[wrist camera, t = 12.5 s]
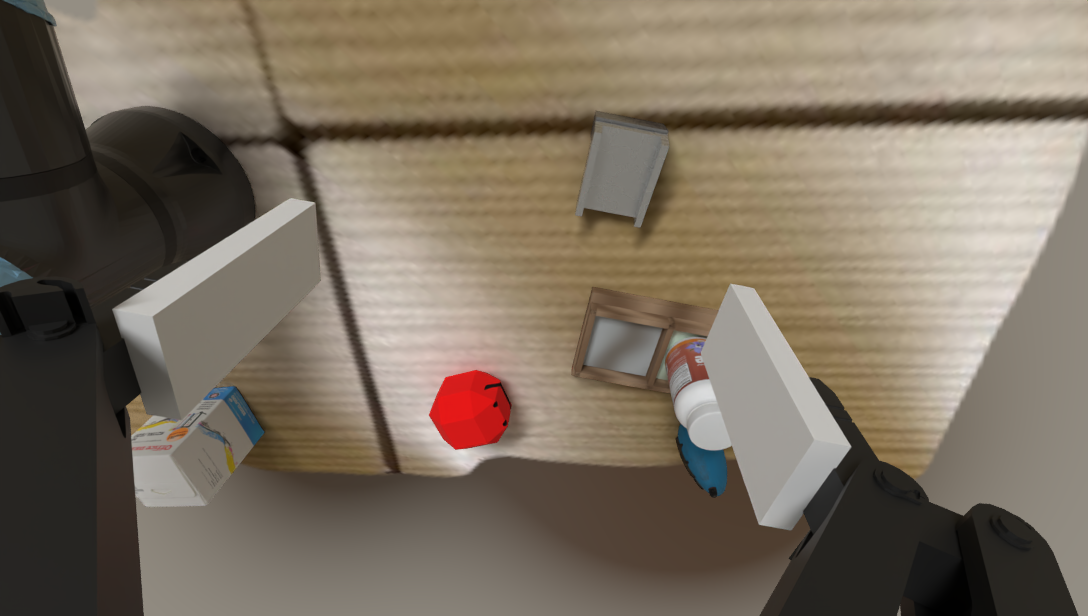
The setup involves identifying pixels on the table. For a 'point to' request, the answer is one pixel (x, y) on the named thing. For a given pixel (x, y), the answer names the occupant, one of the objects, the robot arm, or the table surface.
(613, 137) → the feeder chute
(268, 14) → the table surface
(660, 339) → the divided sorting tray
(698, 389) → the pill bottle
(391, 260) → the table surface
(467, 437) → the ball
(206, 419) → the ink box
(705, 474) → the ornament
